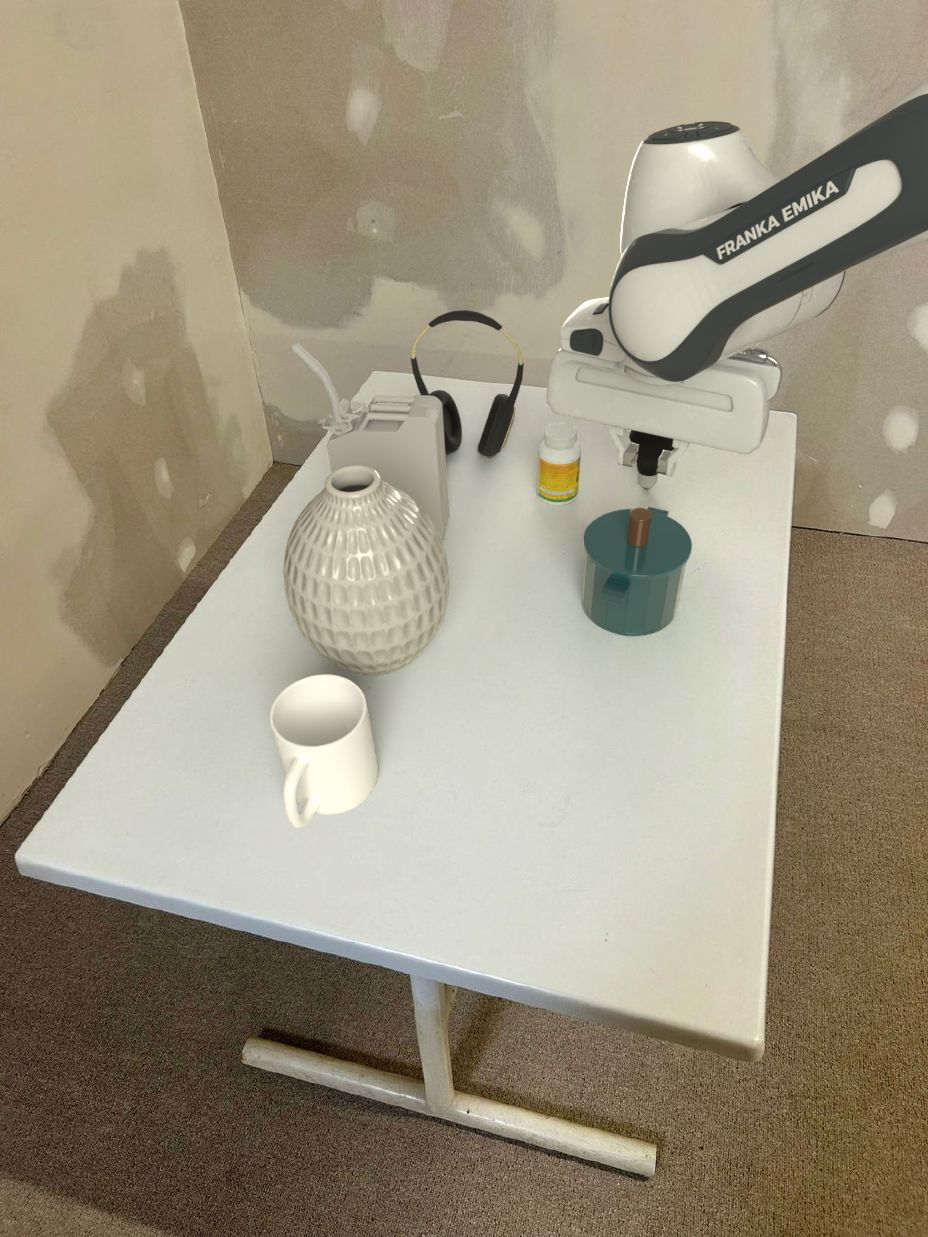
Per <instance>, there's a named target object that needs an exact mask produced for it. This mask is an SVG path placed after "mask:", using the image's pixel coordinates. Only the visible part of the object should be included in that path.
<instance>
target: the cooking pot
mask: <svg viewBox="0 0 928 1237" xmlns="http://www.w3.org/2000/svg"><path fill="white" fill-rule="evenodd" d="M646 509H648V510H650V511H654V512H658V513H661V514H663V515H666V516H668V517H669V511H668V510H664V509H661V508H657V507H652V506H647V507H646ZM584 556H585V557H584V569H583V581H582V594H581V595H582V602H581V603H582V607H583V610H584V612H585V615H586V616H587V617H588V618H589V620H590V621H591V622H592V623H593V624H595V625H596V626H597V627H599V628H601V629H602V630H604V631H607V632H609V633H611V634H614V635H619V636H626V637H642V636H648V635H652V634H655V633H658V632H660V631H662V630H663V629H665V628H667V627H668V626H669V625H670V624H671V623H672V621H674V618H675V617H676V613H677V611H678V608H679V604H680V598H681V593H682V586H683V582H684V581H683V580H684V577H685V576H684V575H685V570H686V564H687V563H686V564H685V565H684V566H683V567H682V568H681V569H680V570H678V571H676V572H675V573H673V574H671V575H668V576H665V577H662V578H657V579H651V580H633V579H626V578H622V577H618V576H615V575H612V574H610V573H608V572H605V571H604V570H602V569H600V568H599V567H597V566H596V565H595V564H594V563H593V562H592V561H591V560H590V559H589V558H588V556H587V555H586V553H585V555H584Z"/></svg>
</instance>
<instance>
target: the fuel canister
mask: <svg viewBox="0 0 928 1237" xmlns="http://www.w3.org/2000/svg"><path fill="white" fill-rule="evenodd" d="M289 350H290V351H291V352H292V353H294V355H295V356H297V357H298V358H299V359H300V361H302V362H303V363H304V364H305V365H306V367H307V368H308V370H310V371H311V372H312V373H313V374H315V376H317V378H318V379H319V380H320V381H321V384H322V386H323V389H324V390H325V393H326V394H327V396H328V399H329V401H330V405H331V406H330V407H331V411H332V412H331V413H332V414H328V415H327V416H326V417H324V418H320V419H319V421H318V422H317V424H318V425H319V424H320V425H321V424H322V425H321V428H322V429H323V430H327V431H329V432H330V433H331V436H330V437H329V440H328V441H327V444H326V447H327V448H326V449H327V453H328V459H329V465H330V471H331V473H332V472H334V471H335V470H337V469H339V468H342V467H345V466H350V465H363V466H367V467H370V468H372V469H374V470H376V471H377V472H378V473H379V475H380V478H381V480H382V481H384V482H386V483H388V484H390V485H392V486H394V487H396V488H397V489H399V490H401V491H403V492H404V493H406V494H407V495H408V496H410V497H411V498H412V499H413V500H415V501H416V502H417V503H418V504H419V505H420V506H421V507H422V509H423V510H424V511H425V512H426V513H427V514H428V516H429V518H430V519H431V521H432V522H433V524H434V525H435V527H436V528H437V530H438V532H439V535H440V537H441V539H442V541H443V540H444V538H445V536H446V530H447V527H448V523H449V519H450V507H449V490H448V476H447V460H446V454H445V441H444V425H443V409H442V403H441V401H440V400H439V399H438V398H437V397H435V396H428V395H420V394H416V395H415V396H399V395H374V396H373V398H372V399H371V401H370V402H369V404H368V405H367V406H366V403H365V402H357V401H350V400H349V398H348V397H347V398H346V399H345V398H341V399H340V398H339V395H338V392H337V390H336V389H335V386H334V384H333V382H332V379H331V377H330V375H329V373H328V372H327V371H326V370H325V369H324V368H323V365H322V364H321V363H320V361H318V360H317V359H316V358H314V357H313V356H312V355H311V354H310V353H309V352H308V351H307V350H306V349H305V348H303V346H302V345H300V344H299V343H298V342H297V341H296V342H294V343H293V344H292V345H291V346H290V347H289ZM361 407H362V410H359V411H357V412H355V411H356V410H358V409H359V408H361ZM353 412H354V413H353ZM329 419H331V421H330V422H329V425H327V423H328V420H329Z"/></svg>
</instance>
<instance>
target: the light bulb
mask: <svg viewBox="0 0 928 1237" xmlns="http://www.w3.org/2000/svg"><path fill="white" fill-rule="evenodd" d="M628 436H629V438H630V441H631V443H635V444H639V448H638V452H637V454H638V457H637V460H636V462H635V463H636V470H637V481H636V482H637V485H639V486H640V487H641V488H643V489H645V490H648V489H651V488H653V487H656V485H657V483H658V475H659V473H657V468H658V459H659V457H660V456H661V455H662V452H663V450H666V451H671V452H672V451H673V450H674V447H673V446H672V445H673V439H671V438H667V437H662V436H657V435H653V434H648V433H643V432H639V431H634V430H630V432H629V434H628Z"/></svg>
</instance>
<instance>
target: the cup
mask: <svg viewBox="0 0 928 1237" xmlns="http://www.w3.org/2000/svg"><path fill="white" fill-rule="evenodd" d="M367 703H368V702H367V698H366V695H365V693H364V692H363V690H362V689H361V688H360V686H358V685H357V684H356V683H355V682H354V681H353V680H350V679H349V678H346V677H345V676H341V675H336V674H327V673H325V674H314V675H310V676H306V677H303V678H300V679H298V680H296V681H294V682H293V683H290V684H289V685H288V686H286V687H285V688H284V689H283V690H282V691H281V692H280V693H279V694H278V695H277V696H276V698H275V700H274V701H273V703H272V705H271V707H270V712H269V724H270V727H271V728H270V729H271V731H272V735H273V737H274V741H275V744H276V748H277V751H278V753H279V754H278V755H279V758H280V761H281V763H282V764H281V765H282V767H283V770H284V773H285V777H284V781H283V784H282V785H283V787H282V802H283V810H284V813H285V817H286V820H287V821H288V823H289V824H290V826H291V827H293V828H295V829H302V828H304V827H306V826H307V825H309V823H310V822H311V821H312V820H313V818H314V816H315V815H316V814H319V815H328V816H329V815H339V814H343V813H347V812H349V811H352V810H353V809H355V808H357V807H358V806H360V805H362V804H363V803H364V802H365V801H367V799H368V798H369V797H370V795H371V794H372V792H373V791H374V789H375V787H376V785H377V781H378V775H379V766H378V759H377V753H376V748H375V742H374V737H373V731H372V725H371V720H370V714H369V709H368V704H367ZM298 804H299V805H300V806H302V808H301V809H300V811H299V808H298Z"/></svg>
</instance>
